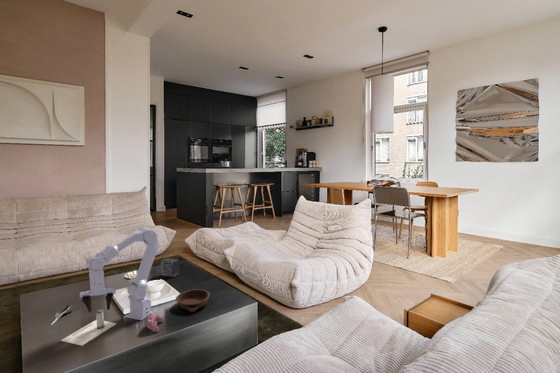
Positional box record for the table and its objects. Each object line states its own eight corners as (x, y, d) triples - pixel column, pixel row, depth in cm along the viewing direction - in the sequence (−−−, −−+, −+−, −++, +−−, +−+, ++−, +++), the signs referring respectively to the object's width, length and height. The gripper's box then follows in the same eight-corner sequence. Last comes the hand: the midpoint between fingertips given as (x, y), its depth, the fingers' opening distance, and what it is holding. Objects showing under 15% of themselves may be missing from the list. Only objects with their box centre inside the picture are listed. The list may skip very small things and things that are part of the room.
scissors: (42, 326, 150) (42, 321, 150) (64, 306, 171) (64, 301, 171) (60, 324, 151) (59, 320, 151) (79, 304, 172) (79, 300, 172)
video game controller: (156, 324, 152) (149, 312, 151) (165, 320, 152) (157, 308, 151) (150, 336, 142) (142, 323, 141) (159, 331, 142) (151, 318, 142)
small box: (180, 274, 213) (179, 259, 212) (173, 278, 207) (172, 262, 206) (167, 272, 217) (167, 257, 216) (160, 275, 211) (159, 260, 210)
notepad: (116, 324, 150) (116, 323, 150) (82, 345, 133) (81, 344, 133) (96, 320, 154) (96, 319, 154) (61, 341, 137) (61, 340, 137)
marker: (106, 325, 148) (104, 309, 147) (101, 329, 145) (100, 312, 144) (100, 325, 149) (98, 309, 148) (95, 329, 146) (94, 312, 145)
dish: (173, 316, 157) (173, 307, 156) (178, 297, 178) (178, 288, 178) (209, 312, 160) (209, 303, 160) (210, 294, 182) (210, 285, 181)
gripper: (116, 276, 150) (118, 304, 152) (82, 280, 147) (85, 308, 148) (112, 282, 143) (114, 311, 145) (76, 286, 140) (79, 315, 141)
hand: (99, 310), depth 146 cm, fingers open, 7 cm apart
